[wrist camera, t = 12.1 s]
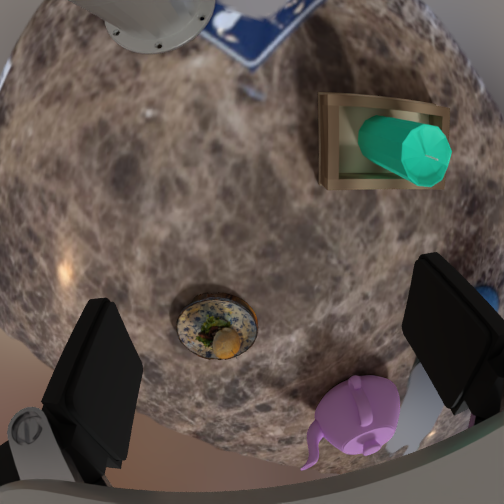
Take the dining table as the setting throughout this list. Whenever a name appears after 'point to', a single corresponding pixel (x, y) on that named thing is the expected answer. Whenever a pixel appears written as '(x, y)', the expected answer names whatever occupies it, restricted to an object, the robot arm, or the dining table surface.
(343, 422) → the teapot
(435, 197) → the dining table surface
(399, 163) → the candle
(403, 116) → the tray
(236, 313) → the plate of food
